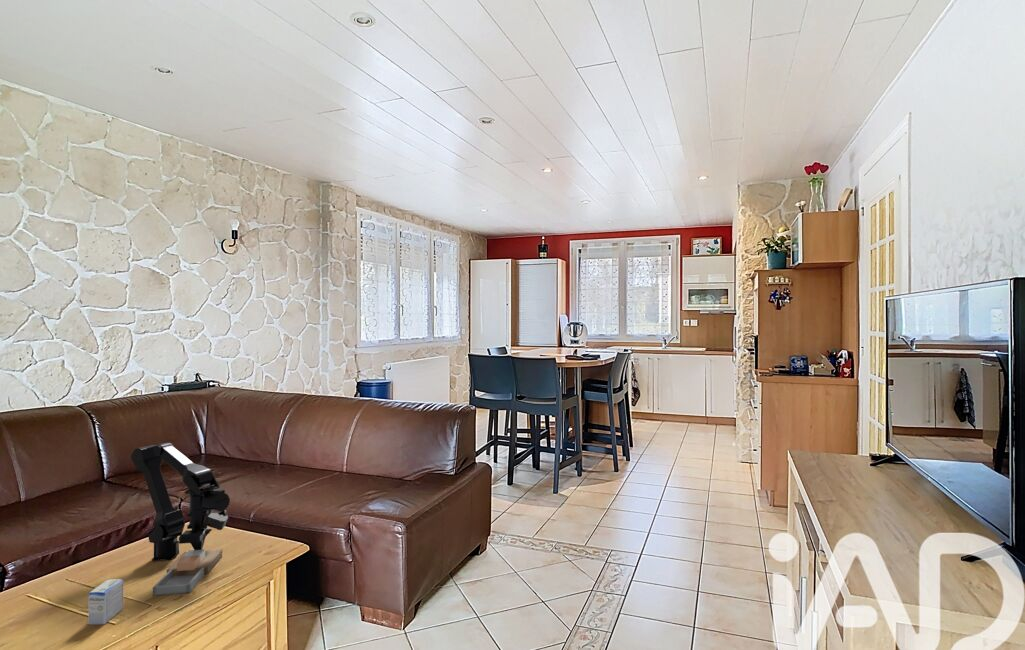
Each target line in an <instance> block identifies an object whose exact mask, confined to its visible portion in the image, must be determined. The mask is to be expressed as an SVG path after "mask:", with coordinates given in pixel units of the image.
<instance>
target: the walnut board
mask: <svg viewBox="0 0 1025 650" xmlns="http://www.w3.org/2000/svg"><path fill="white" fill-rule="evenodd" d="M187 552H188V551H183V552H182V554H180V556H179V557H177V559H176V560H175V561H174V562H173V563H172V564H171V565H170V566H168V568H167V569H166V573H167V572H168V571H169V570H173V576H185V575H196V574H197V573H198V572H199V570H200V569H201V568H204V576H208V575H209V574H210V573H211V571H212V570H213V569H214V568H215V567H216V565H217V564H218V563H219V562H220V561H221V559H222V558H223V549H213V550H212V549H210V550H205V558H204V559H203V560H202V561H201V562H200V564H199V565H198V566H197V567H196V568H195V570H184V571H177V563H178V562H179V561H180V560H181V559H182V558H183V556H184V555H185V554H186V553H187Z"/></svg>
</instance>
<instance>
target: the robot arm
mask: <svg viewBox="0 0 1025 650" xmlns="http://www.w3.org/2000/svg"><path fill="white" fill-rule="evenodd" d="M130 457H131V461H132V463H133V465H134V467H135V468H136V470H138V471H139V472H140V473H142V474H143V477H144V479H145V483H146V485H147V489H148V491H149V496H150V497H151V498H150V499H151V502H152V504H153V507H154V510H155V518H154V519H153V520H154V521H153V527H154V529H153V530H152V531H151V532H150V534H149V535H148V542H149V543H151V544H153V557H152V558H151V562H156V561H157V562H158V561H171V560H173V559H174V558H175V557H176V556H177V555H178V554H179V553H180V545H181V544H190V545H191V547H192V549H193V550H204V549H203V548H204V545H205V541H206V537H207V536H208V535H209V534H210V532H212V530H213V529H216V530H217V531H222V530H223V529H224V528H225V527H226V524H227V521H228V520H229V515H228V512H227V510H226V509H228V507H229V505H230V503H231V502H230V501H231V499H230V496H229V494H228V493H226V490H225V489H220V485H219V482H218V481H217V479H216V477H215V476H214V474H213V471H212V470H211V469H210V468H208V467H206V466H204V465H202V464H197V463H194V462H193V461H192V460H190V459H189V458H188V457H187V456H186V455H184V454H183V453H182V452H181V451H179V450H178V449H177V448H176V447H174V444H173V443H171V442H169V441H168V442H163V443H159V444H152V445H147V446H141V447H136V448H135V449H133V451H132V454H131V456H130ZM163 461H164V462H166V463H167V464H168V465H169V466H170V467H172V469H174V471H176V472H177V473H179V474H180V475H181V479H182V482H183V483H184V484H185V486H186V487H187V490H186V491H184V494H185V495H189V510H188V512H187V513H186V514H187V515H186V516H187V517H189V524H187V526H186V529H187V530H186V529H185V531H184V528H185V525H186V522H185V520H186V519H185V517H184V515H183V510H182V509H179V508H178V509H176V508H175V507H174V506H173V503H172V500H171V497H170V495H169V492H168V488H167V486H166V482H165V479H164V476H163V473H162V471H161V465H162V462H163ZM213 511H215V512H213ZM212 528H213V529H212ZM183 531H184V532H183Z"/></svg>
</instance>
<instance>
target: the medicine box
mask: <svg viewBox="0 0 1025 650" xmlns="http://www.w3.org/2000/svg"><path fill="white" fill-rule="evenodd" d="M123 609H124V579H118V578H117V579H114V578H113V579H106V580H105V581H103V582H102V583H100V584H98V586H97V587H95V588H94V589H93V590H91V591H90V592H88V613H87V614H88V617H87V618H88V621H87V622H88V625H91V626H92V625H93V626H94V625H106V624H107V623H108V622H109V621H110V620H112V619H113V618H114V617H115V616H116V615H117V614H118V613H120V612H121V611H122V610H123Z"/></svg>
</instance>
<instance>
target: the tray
mask: <svg viewBox="0 0 1025 650" xmlns="http://www.w3.org/2000/svg"><path fill="white" fill-rule="evenodd" d="M165 573H166V574H165V575H164V576H163V577H161V579H160V580H158V582H156V583H155V584H154V586H152V596H165V595H179V594H181V595H182V594H190V593H191V592H192V591H193V590H194V588H195V587H196V586H197V585H198V584H199V582H200V581H201V580H202V579H203V578H204V576H205V575H204V568H201V569H200V570H199V572H198V573H197V574H196V575H185V576H173V570H169V571H168V572H167V571H166V572H165Z"/></svg>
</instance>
